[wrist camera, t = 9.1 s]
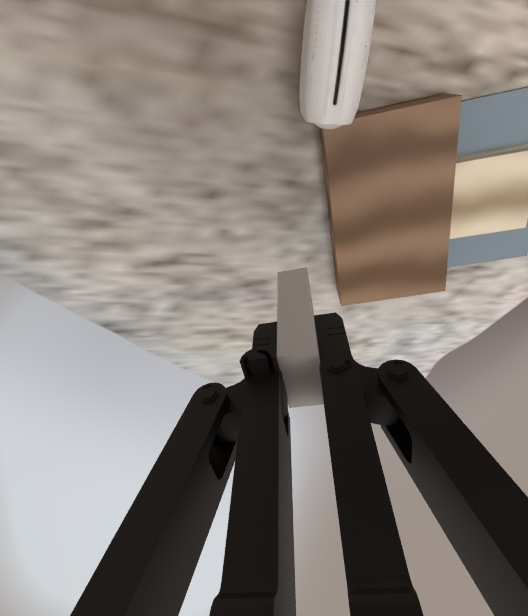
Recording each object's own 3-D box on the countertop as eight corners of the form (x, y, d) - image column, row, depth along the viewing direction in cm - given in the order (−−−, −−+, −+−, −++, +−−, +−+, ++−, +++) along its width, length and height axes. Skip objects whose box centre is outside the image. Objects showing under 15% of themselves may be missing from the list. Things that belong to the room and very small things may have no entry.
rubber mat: (448, 103, 35) (450, 104, 34) (561, 79, 33) (564, 79, 33) (437, 267, 44) (439, 269, 44) (524, 253, 43) (526, 255, 42)
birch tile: (444, 158, 37) (454, 163, 35) (527, 143, 36) (543, 147, 34) (438, 231, 41) (447, 239, 39) (512, 219, 40) (525, 227, 38)
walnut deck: (319, 120, 36) (323, 125, 33) (444, 93, 34) (461, 95, 31) (336, 289, 47) (341, 305, 43) (432, 274, 45) (445, 290, 41)
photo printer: (305, -20, 30) (318, -68, 20) (356, -18, 30) (395, -66, 20) (295, 117, 36) (301, 135, 26) (338, 119, 36) (361, 137, 25)
